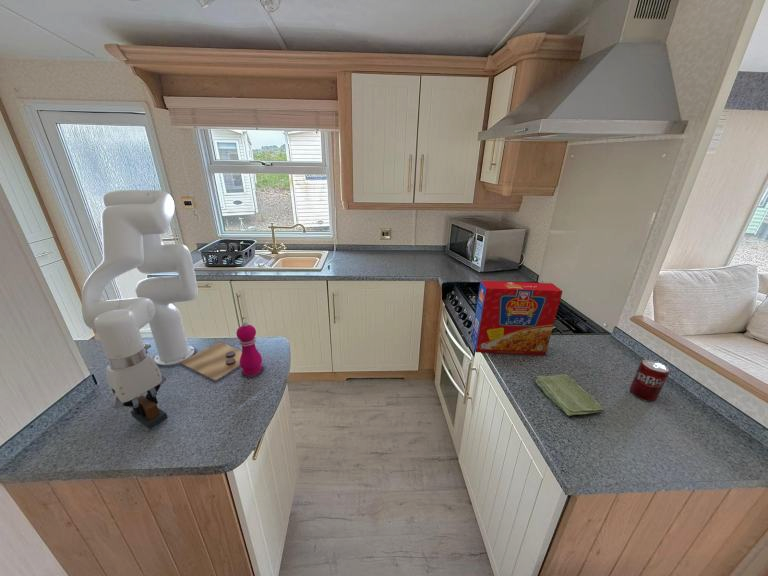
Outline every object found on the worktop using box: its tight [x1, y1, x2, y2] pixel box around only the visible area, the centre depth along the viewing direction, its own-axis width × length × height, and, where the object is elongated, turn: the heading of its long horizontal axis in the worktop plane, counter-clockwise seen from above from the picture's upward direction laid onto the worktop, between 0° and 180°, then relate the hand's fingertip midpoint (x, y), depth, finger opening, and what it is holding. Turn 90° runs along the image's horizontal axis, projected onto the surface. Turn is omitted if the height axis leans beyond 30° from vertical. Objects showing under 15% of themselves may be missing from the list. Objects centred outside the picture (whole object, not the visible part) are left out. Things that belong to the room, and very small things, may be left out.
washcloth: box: [534, 373, 604, 417], centre depth 100 cm, size 13×18×3 cm
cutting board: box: [179, 341, 242, 381], centre depth 113 cm, size 20×16×1 cm
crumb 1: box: [226, 351, 235, 358], centre depth 115 cm, size 3×3×1 cm
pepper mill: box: [236, 321, 263, 376], centre depth 104 cm, size 7×7×20 cm
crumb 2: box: [226, 358, 236, 365], centre depth 111 cm, size 3×3×1 cm
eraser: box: [130, 394, 169, 430], centre depth 85 cm, size 9×4×6 cm, turn 63°
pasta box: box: [470, 280, 563, 356], centre depth 121 cm, size 28×8×28 cm, turn 88°
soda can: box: [629, 359, 671, 403], centre depth 100 cm, size 7×7×12 cm
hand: (147, 410), depth 85 cm, fingers closed on eraser, 2 cm apart
